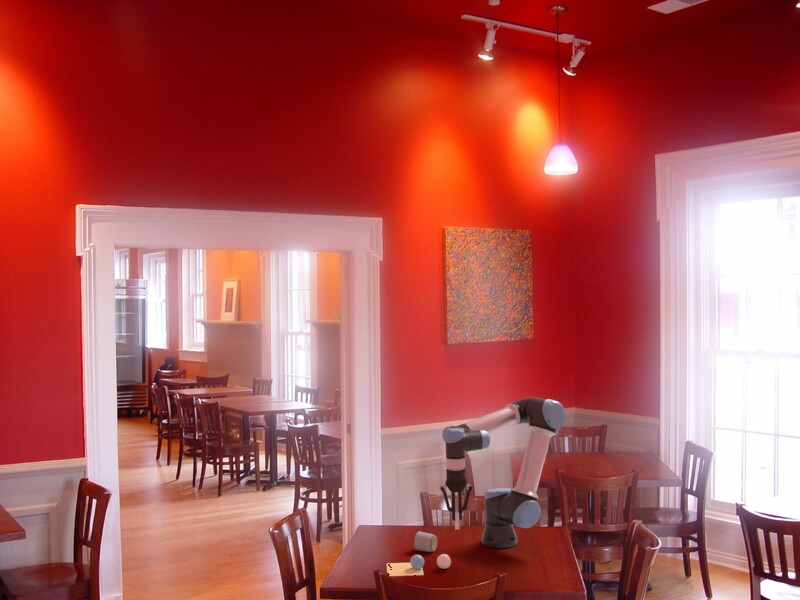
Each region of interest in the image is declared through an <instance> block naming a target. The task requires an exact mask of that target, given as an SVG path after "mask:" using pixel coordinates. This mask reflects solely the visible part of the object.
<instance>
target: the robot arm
mask: <svg viewBox="0 0 800 600" xmlns="http://www.w3.org/2000/svg"><path fill="white" fill-rule="evenodd" d="M566 414H567V413H566V410H565V409H564V406H563V405H562V403H561V402H559V401H557V400H554V399H550V398H540V397H535V396H534V397H533V396H531V397H526V398H521V399H519V400H516V401H513V402H511V403H508V404H506V405H505V407H504V408H502V409H498V410H496V411H493V412H491V413H489V414H486V415H483V416H480V417H478V418H475V419H471V420H470V421H467V422H464V423H462V424H459V425H456V426H454V425H448V426H445V427H444V428H443V430H442V433H441V435H442V440H443V441H444V443H445V467H446V471H445V476H446V477H445V479H446V480H445V482H444V483H445V484H442V485H440V486H439V489H440V491H441V492H442V493H443V498H444V503H445V506H446V509H447V511H448V512H450V513H451V519H452V520H451V521H454V528H455V530H460V521H462V520H463V512H464V511H467V508H468V504H469V498H470V494H471V491H472V489H473V486H472V484H469V483H468V481H467V480H466V478H467V477H466V469H465V468H466V453H467V452H472V451H479V450H480V451H481V450H484V449H488V447H490V444H491V437H490V433H493V432H496V431H498V430H501V429H504V428H505V427H509V426H518V425H521V424H527V425H528V428H529V430H530V434H529V437H528V441H527V444H526V448H525V452H524V456H523V459H522V464H521V467H520V471H519V475H518V478H517V482H516V485H515V487H513V488H511V487H497V488H496V487H495V488H491V489H488V490H486V491H485V492H484V500H483V501H484V519H485V520H484V523H485V525H484V528H483V531H482V533H481V534H482V535H481V544H482V545H484V546H485V547H489V548H492V549H493V548H495V549H505V548H511V547H514V546H516V545H518V538H517V537H518V536H517V533H516V531H515V528H514V526H516V527H517V528H523V529H530V528H531V527H533V526H535V525H536V524H537V522H538V521H539V520H540V517H541V513H542V511H541V506H540V504H539V503H538V502H539V501H538V500H539V496H538V494H537V490H538V487H539V483H540V480H541V475H542V472H543V467H544V464H545V461H546V456H547V453H548V449H549V446H550V441H551V439H552V437H553V436H555V435H556V434H557V433H556V432H557V430H559V429H561V427H563V426H564V424H565V422H566V416H567V415H566ZM447 488H448V490H449V491H450V495H451V496H450V497H451V498H450V499H451V504H450V502H449V497H448V493H447V491H446V490H447ZM465 489H466V490H465ZM463 490H465V494H464V498H463V499H464V500H463V499H462V493H463ZM456 493H457V510H456ZM462 500H463V502H462ZM450 505H451V506H450Z"/></svg>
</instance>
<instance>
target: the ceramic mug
mask: <svg viewBox="0 0 800 600" xmlns="http://www.w3.org/2000/svg"><path fill="white" fill-rule="evenodd" d="M437 547H438V537H437V536H436V535H435V534H432V533H428V532H424V531H418V532H416V534H415V535H414V541H413V548H414V549H415V551H419V552H427V553H433V552H435V551H436V550H437Z"/></svg>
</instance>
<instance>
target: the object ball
mask: <svg viewBox="0 0 800 600" xmlns="http://www.w3.org/2000/svg"><path fill="white" fill-rule="evenodd" d="M409 561H410V562H409V563H410V564H411V566H412V567H413V568H414V569H421V568H423V567H424V565H425V559H424V557H423V556H422V555H420V554H414V555H412V556H411V558H410V560H409Z"/></svg>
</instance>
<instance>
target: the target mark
mask: <svg viewBox="0 0 800 600" xmlns="http://www.w3.org/2000/svg"><path fill="white" fill-rule="evenodd" d="M388 564H390V566H391V567H392V568H390V567H389V566H388ZM390 569H392V570H390ZM387 573H389V574H390V575H389V576H390V577H409V576H410V577H411V576H414V575H416V576H424V575H425V574H424V568H423V567H422V568H421V569H414V568H413V567H412V566H411V564H410V562H395V563H394V562H391V563H390V562H388V563H386V574H387Z"/></svg>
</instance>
